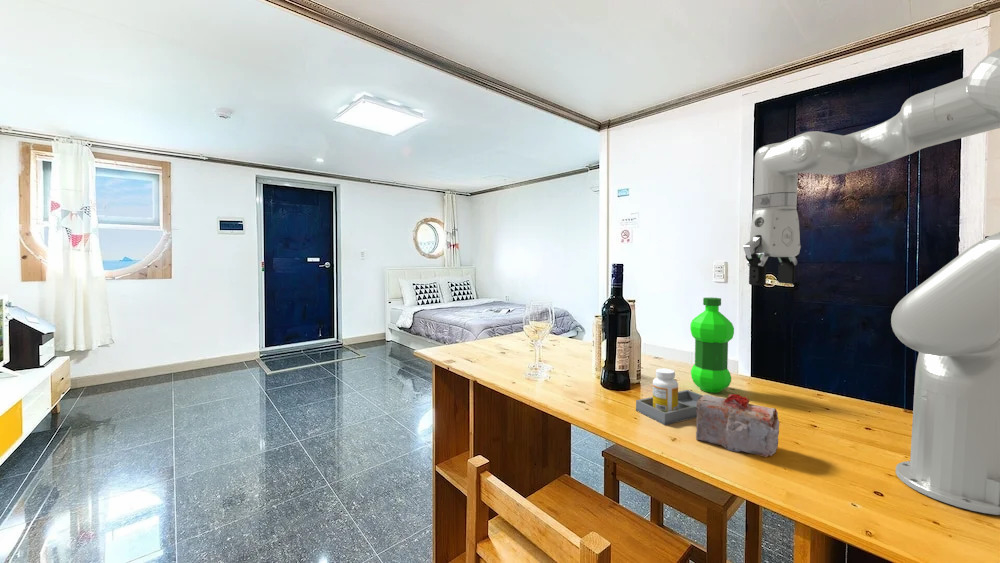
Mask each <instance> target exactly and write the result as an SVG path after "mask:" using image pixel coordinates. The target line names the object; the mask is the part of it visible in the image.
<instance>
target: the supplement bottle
mask: <svg viewBox="0 0 1000 563" xmlns="http://www.w3.org/2000/svg"><path fill="white" fill-rule="evenodd" d="M675 373H676V371H675V370H674V369H672V368H671V369H670V368H664V367H662V368H657V369H656V370H655V376H656V377H655V378H654V379H653V380H652V397H653V407H654V408H656V409H658V410H661V411H663V412H669V411H673V410H678V392H679V382H678V381H677V380H676V379H675V376H676V374H675Z"/></svg>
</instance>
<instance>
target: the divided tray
mask: <svg viewBox="0 0 1000 563" xmlns="http://www.w3.org/2000/svg"><path fill="white" fill-rule="evenodd" d="M703 395H704V394H703ZM703 395H702V394H700V393H697V392H695V391H692V390H690V389H685V390H684V389H683V390H681V391H679V390H678V410H673V411H669V412H663V411H661V410H658V409H656V408H654V407H653V396H651V397H650V396H649V397H646V398H641V399H637V400H635V411H636V412H638V411H639V412H638V413H640V414H642V415H644V416H646V415H647V416H646V417H648V416H649V417H648V418H650V419H651V420H653V421H655V420H656V422H658V423H659V424H662V425H664V426H667V425H671V424H675V423H680V422H683V421H687V420H690V419H695V418H696V419H697V401H698V399H699V398H700V397H701V396H703Z"/></svg>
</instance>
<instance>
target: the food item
mask: <svg viewBox="0 0 1000 563" xmlns="http://www.w3.org/2000/svg"><path fill="white" fill-rule="evenodd" d="M695 425H696V429H695V439H696V440H697V441H702V442H706V443H710V444H714V445H718V446H722V447H723V448H724V449H726V451H727V450H728V451H730V452H738V453H740V452H744V453H746V454H747V453H748V454H753V455H756V456H760V457H765V458H766V457H769V456H771V457H772V456H773V455H774V454H775V453H776V452H777V449H778V445H779V435H780V420H779V413H778V411H777V409H776V408H773V407H768V406H763V405H757V404H753V403H750V399H749V398H748V397H746V396H742V395H740V394H734V393H730V394H727V398H725V397H720V396H713V395H709V394H703V396H701V397H700V398H699V399H698V401H697V417H696V423H695Z"/></svg>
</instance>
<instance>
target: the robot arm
mask: <svg viewBox="0 0 1000 563" xmlns="http://www.w3.org/2000/svg"><path fill="white" fill-rule="evenodd" d="M997 129H1000V47H999V48H997V49H995V50H994V51H992V52H991V53H989V54H988V55H987V56H985V57H984V58H983V59H982V60H980V61H979V62H978V63H977V64H976V66H974V67H973V69H972V70H971V72H970V73H969V75H968V76H965V77H962V78H960V79H957V80H954V81H951V82H949V83H946V84H943V85H939V86H937V87H934V88H931V89H929V90H925V91H923V92H920V93H919V92H918V93H917V94H916V93H915V94H914V95H912V96H910V97H909V98H907V99H906V100H905V101H904V103H903V104H902V106H901V108H900V111H899V112H898V113H897V114H896V115H894V116H892V117H891V118H889V119H887V120H885V121H883V122H881V123H879V124H877V125H873V126H871V127H868V128H866V129H862V130H858V131H856V132H855V131H854V132H852V133H848V134H845V135H844V134H843V135H842V134H836V133H831V132H823V131H819V130H817V131H816V130H815V131H806V132H803V133H800V134H798V135H795V136H793V137H791V138H788V139H787V140H784V141H781V142H775V143H771V144H767V145H763V146H761V147H759V148H758V149H757V150H756V152H755V155H754V177H753V178H754V180H753V182H754V183H753V211H752V212H753V214H752V217H751V224H750V234H749V241H748V242H746V243H745V244H744V245H743V251H744V253H745V259H746V260H747V266H748V267H749V270H748V276H749V278H748V284H749V285H750V286H766V283H767V266H766V265H765V264H766V262H767V261H768V258H769V257H771V258H772V257H773V258H777V259H778V262H779V263H780V264H778V268H777V273H778V274H777V282H778V283H779V284H795V283H796V265H798V258H799V257H800V255H799V254H800V250H801V248H802V246H801V240H800V239H801V238H800V237H801V236H800V235H801V234H800V220H799V215H798V210H797V204H798V203H797V200H798V181H799V180H798V179H799V178H798V177H799V176H798V175H799V174H800V173H801V174H816V175H824V176H825V175H826V176H835V175H836V176H838V175H844V174H848V173H853V172H855V171H860V170H865V169H868V168H872V167H876V166H880V165H884V164H886V163H889V162H892V161H895V160H898V159H901V158H903V157H905V156H908V155H911V154H914V153H915V152H918V151H920V150H922V149H925V148H929V147H932V146H936V145H940V144H943V143H948V142H951V141H954V140H958V139H963V138H967V137H970V136H974V135H978V134H982V133H986V132H990V131H993V130H997ZM890 321H891V322H890V325H891V328H892V332H893V333H894V335H895V337H897V339H898V340H899V341H900V342H901V343H902V344H904V345H905V347H908V348H910V349H912V350H914V351H915V352H918V355H917V360H916V364H915V375H914V387H913V388H914V390H913V391H914V392H913V393H914V394H913V404H912V405H913V407H912V408H913V410H912V423H911V424H912V425H911V427H912V428H911V439H910V440H911V442H910V460H906V461H905V460H904V461H901V462H899V463H897V464H896V466H895V475H896V477H897V478H898V479H900V481H901V482H903V483H904V484H905V485H907V487H910V488H911V489H912V490H915V491H916V492H919V493H920V494H923V495H925V496H926V497H929V498H932V499H934V500H937V501H939V502H942V503H945V504H947V505H951V506H954V507H957V508H960V509H965V510H968V511H972V512H976V513H982V514H986V515H987V514H988V515H995V516H1000V231H999V232H997V233H994V234H991V235H989V236H987V237H985V238H983V239H981V240H979V241H978V242H976V243H975V244H973V245H971V246H970V247H969V248H967V249H965V250H964V251H963V252H962V253H960V254H959V255H957V256H956V257H955V258H953V259H952V260H950V261H949V262H948V263H947V264H945V265H944V266H942V268H940V269H939V270H937V271H936V272H934V273H933V274H932V275H931V276H929V277H928V278H927V279H926V280H924V281H923V282H922V283H920V284H919V285H917V286H916V287H915V288H914V289H912V290H911V291H910V292H909V293H907V294H906V295H905V296H903V297H902V298H901V299H900V300H899V301H898V303H897V304H896V305H895V307H894V309H893V310H892V313H891V318H890Z"/></svg>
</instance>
